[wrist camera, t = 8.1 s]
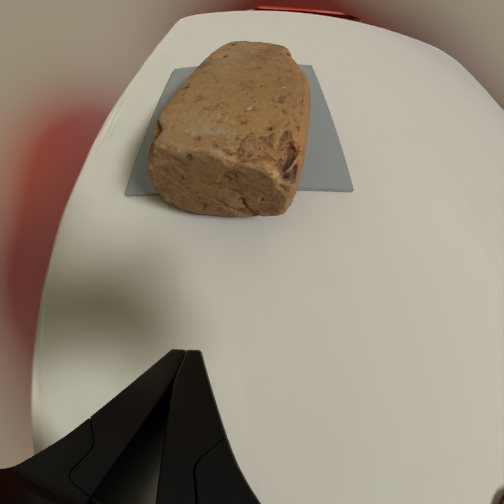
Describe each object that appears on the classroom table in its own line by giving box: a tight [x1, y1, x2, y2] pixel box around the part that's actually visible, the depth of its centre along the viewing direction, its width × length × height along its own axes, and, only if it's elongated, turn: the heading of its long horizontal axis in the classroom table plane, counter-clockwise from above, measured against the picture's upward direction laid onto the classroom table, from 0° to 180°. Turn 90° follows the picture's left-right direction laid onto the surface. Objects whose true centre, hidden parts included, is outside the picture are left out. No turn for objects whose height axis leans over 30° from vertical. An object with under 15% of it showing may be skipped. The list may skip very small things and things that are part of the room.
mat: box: [125, 64, 353, 196], centre depth 28 cm, size 20×24×1 cm
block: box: [147, 41, 310, 217], centre depth 22 cm, size 11×8×20 cm
